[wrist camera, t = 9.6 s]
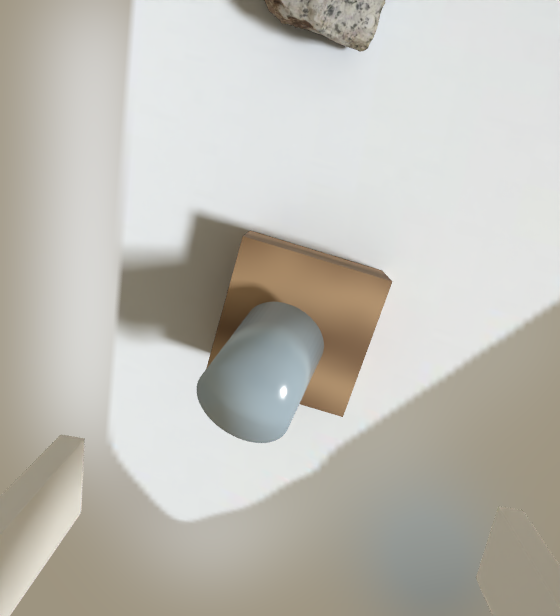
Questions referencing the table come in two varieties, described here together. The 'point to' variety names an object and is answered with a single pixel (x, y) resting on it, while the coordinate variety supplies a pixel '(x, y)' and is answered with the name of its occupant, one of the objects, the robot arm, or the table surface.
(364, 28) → the rock
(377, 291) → the walnut block
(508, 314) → the table surface
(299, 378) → the grey rounded cylinder
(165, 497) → the table surface
